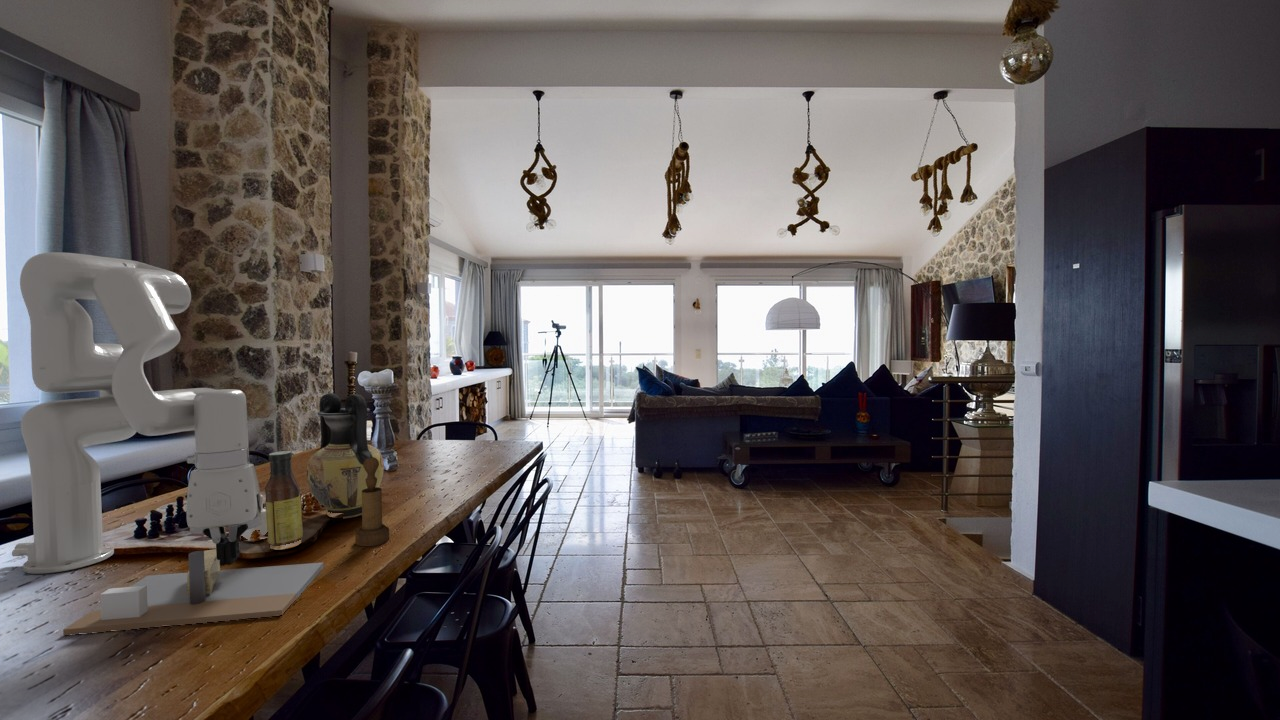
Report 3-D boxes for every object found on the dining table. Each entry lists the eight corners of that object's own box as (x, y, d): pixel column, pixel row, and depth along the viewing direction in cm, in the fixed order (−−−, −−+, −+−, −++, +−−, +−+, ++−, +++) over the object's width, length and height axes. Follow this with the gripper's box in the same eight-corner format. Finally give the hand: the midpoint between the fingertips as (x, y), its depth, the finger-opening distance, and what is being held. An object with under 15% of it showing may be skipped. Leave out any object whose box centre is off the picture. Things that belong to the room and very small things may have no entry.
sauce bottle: (309, 542, 123) (307, 449, 122) (289, 553, 117) (286, 455, 116) (281, 541, 124) (278, 449, 123) (259, 552, 118) (256, 455, 117)
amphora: (289, 520, 138) (286, 395, 136) (345, 501, 154) (342, 389, 152) (349, 527, 132) (346, 397, 131) (400, 506, 149) (398, 390, 147)
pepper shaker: (239, 541, 123) (238, 498, 123) (257, 535, 127) (256, 493, 127) (252, 544, 122) (251, 499, 122) (270, 538, 126) (269, 494, 125)
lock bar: (210, 593, 95) (209, 569, 95) (187, 597, 94) (187, 573, 94) (219, 570, 105) (219, 548, 105) (199, 573, 103) (198, 551, 103)
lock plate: (63, 636, 84) (60, 575, 84) (147, 581, 104) (145, 531, 103) (282, 616, 90) (280, 559, 90) (323, 567, 109) (322, 520, 109)
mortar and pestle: (367, 548, 119) (365, 462, 118) (349, 542, 123) (347, 458, 122) (395, 539, 125) (394, 456, 124) (377, 533, 128) (375, 453, 128)
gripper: (161, 467, 96) (167, 576, 96) (264, 460, 100) (269, 564, 101) (183, 459, 103) (188, 560, 104) (278, 452, 107) (283, 550, 108)
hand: (228, 562), depth 102 cm, fingers closed
